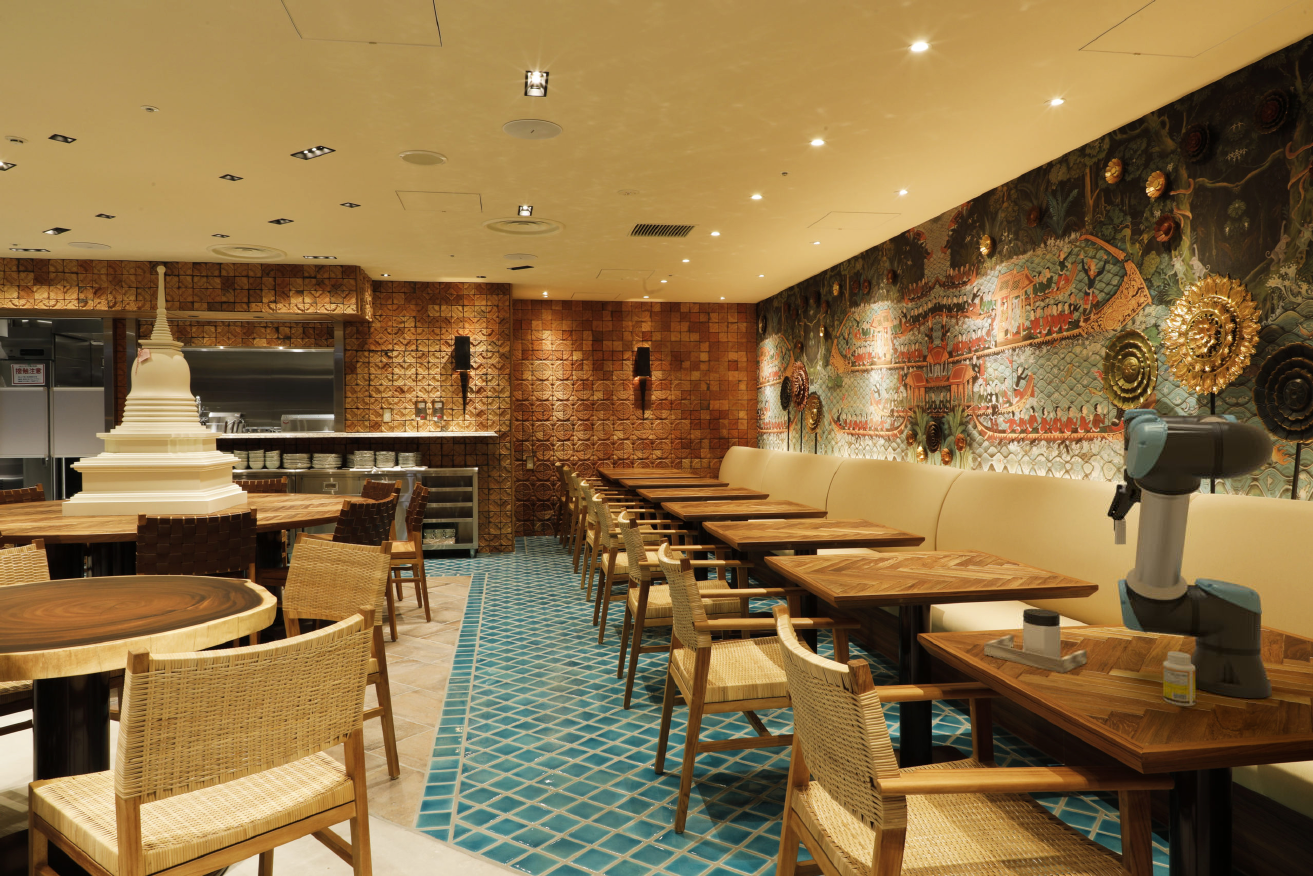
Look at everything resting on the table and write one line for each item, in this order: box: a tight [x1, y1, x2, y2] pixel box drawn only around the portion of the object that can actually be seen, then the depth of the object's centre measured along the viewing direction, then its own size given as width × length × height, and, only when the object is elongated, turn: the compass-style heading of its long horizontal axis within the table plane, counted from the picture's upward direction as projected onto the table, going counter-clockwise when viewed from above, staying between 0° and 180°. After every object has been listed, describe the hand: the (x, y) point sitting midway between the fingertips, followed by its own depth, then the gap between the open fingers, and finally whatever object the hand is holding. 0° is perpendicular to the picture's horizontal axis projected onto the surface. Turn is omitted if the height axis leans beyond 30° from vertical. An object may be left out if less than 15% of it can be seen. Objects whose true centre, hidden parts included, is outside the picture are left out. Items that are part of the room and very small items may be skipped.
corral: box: [983, 634, 1087, 674], centre depth 187 cm, size 14×19×3 cm
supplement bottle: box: [1162, 650, 1197, 707], centre depth 156 cm, size 6×6×10 cm
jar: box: [1022, 608, 1061, 659], centre depth 186 cm, size 9×8×12 cm
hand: (1140, 548), depth 196 cm, fingers open, 13 cm apart
